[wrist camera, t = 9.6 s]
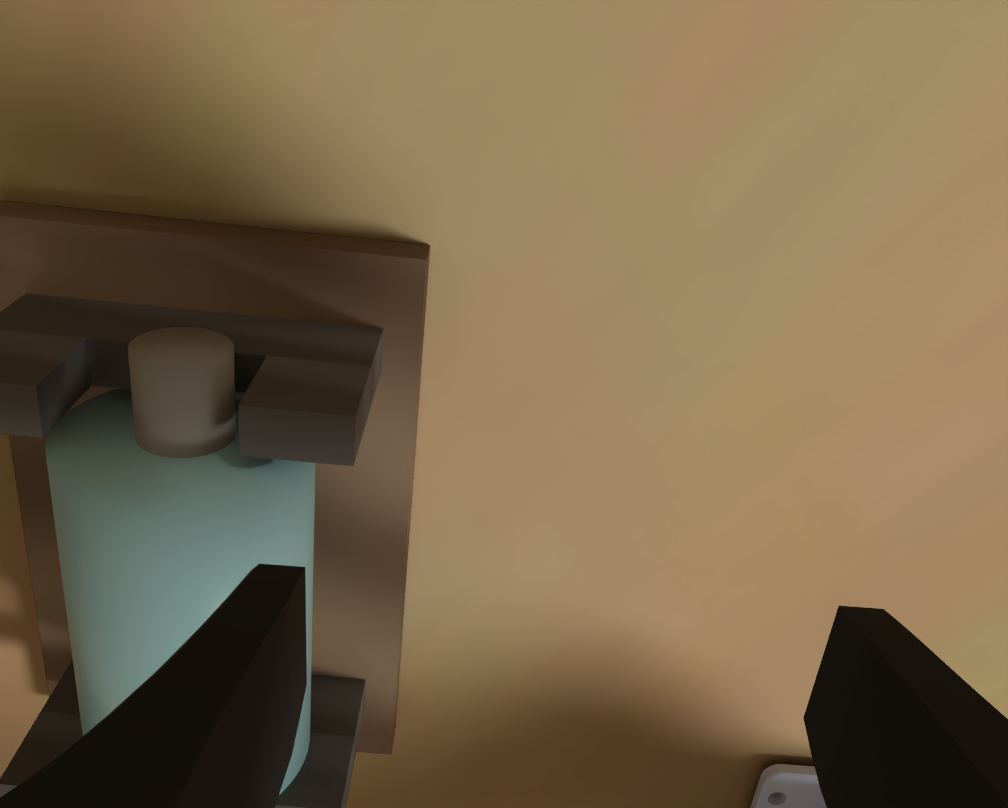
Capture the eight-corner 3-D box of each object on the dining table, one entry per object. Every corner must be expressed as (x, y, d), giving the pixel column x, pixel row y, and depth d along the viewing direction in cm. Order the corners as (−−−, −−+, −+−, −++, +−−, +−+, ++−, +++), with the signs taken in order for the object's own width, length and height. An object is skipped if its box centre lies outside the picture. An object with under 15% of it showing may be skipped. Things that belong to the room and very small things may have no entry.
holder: (395, 725, 26) (371, 890, 21) (69, 700, 26) (-23, 861, 21) (430, 245, 20) (407, 335, 15) (-1, 200, 19) (-155, 279, 15)
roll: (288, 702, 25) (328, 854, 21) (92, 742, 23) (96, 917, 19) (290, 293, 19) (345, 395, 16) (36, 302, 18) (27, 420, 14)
